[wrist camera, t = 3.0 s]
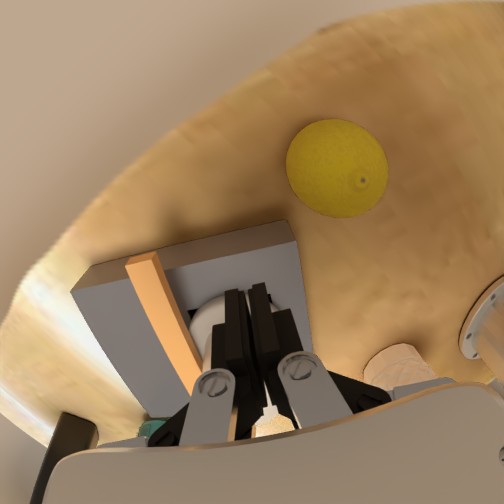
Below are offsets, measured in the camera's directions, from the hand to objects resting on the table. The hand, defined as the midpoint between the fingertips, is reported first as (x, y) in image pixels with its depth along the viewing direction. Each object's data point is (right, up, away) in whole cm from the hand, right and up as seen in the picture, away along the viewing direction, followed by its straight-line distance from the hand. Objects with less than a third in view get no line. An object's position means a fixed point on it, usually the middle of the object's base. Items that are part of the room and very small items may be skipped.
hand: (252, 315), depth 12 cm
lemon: (+4, +9, +7) cm, 13 cm away
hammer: (-4, -4, +8) cm, 10 cm away
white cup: (+15, -10, +17) cm, 25 cm away
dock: (-4, -3, +12) cm, 13 cm away
